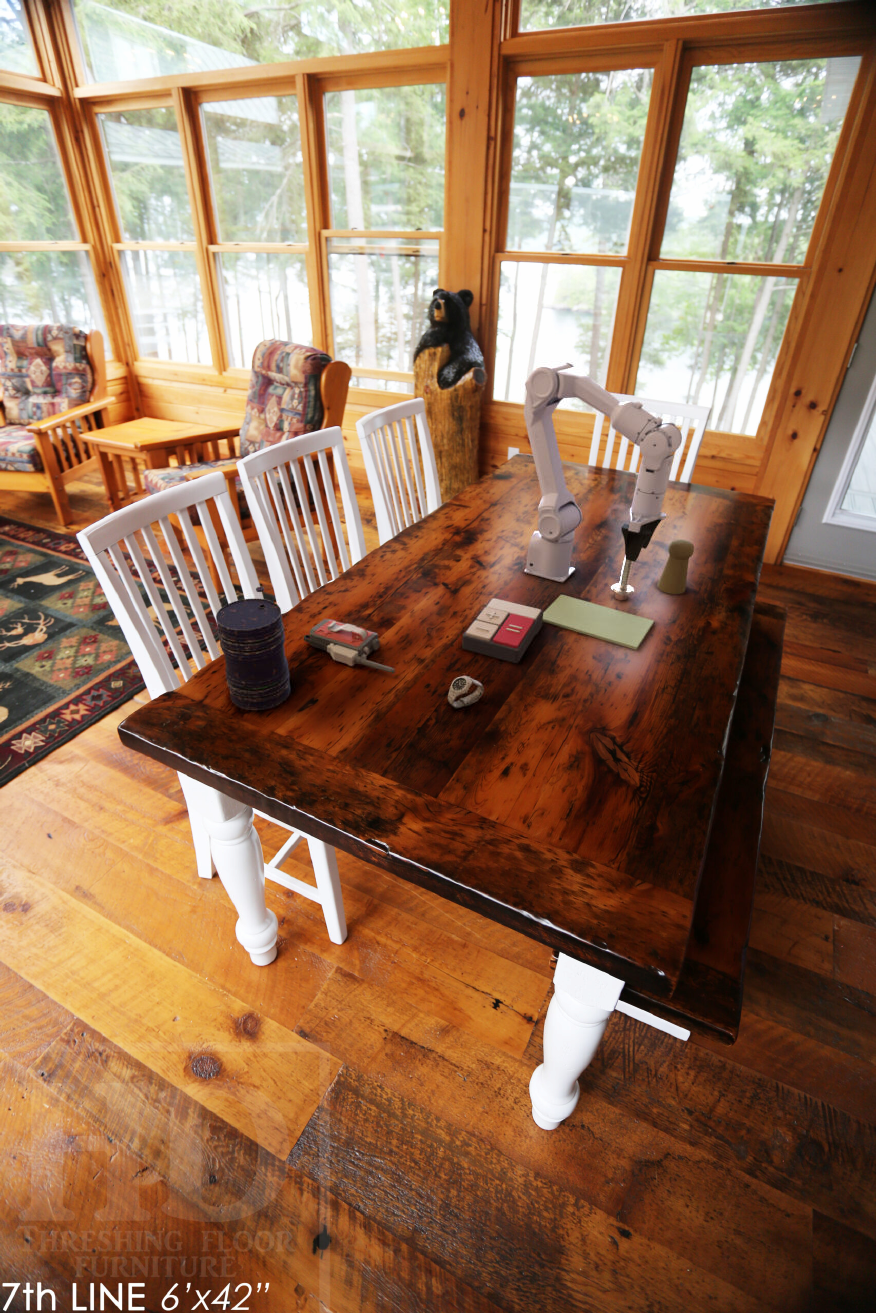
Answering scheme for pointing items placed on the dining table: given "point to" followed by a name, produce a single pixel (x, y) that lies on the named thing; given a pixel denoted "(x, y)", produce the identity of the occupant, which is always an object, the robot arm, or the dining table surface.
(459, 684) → the wristwatch
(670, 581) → the olive pawn
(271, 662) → the dark blue cylinder
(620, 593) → the screw
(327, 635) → the walkie-talkie
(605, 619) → the mat
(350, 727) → the dining table surface
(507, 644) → the calculator
